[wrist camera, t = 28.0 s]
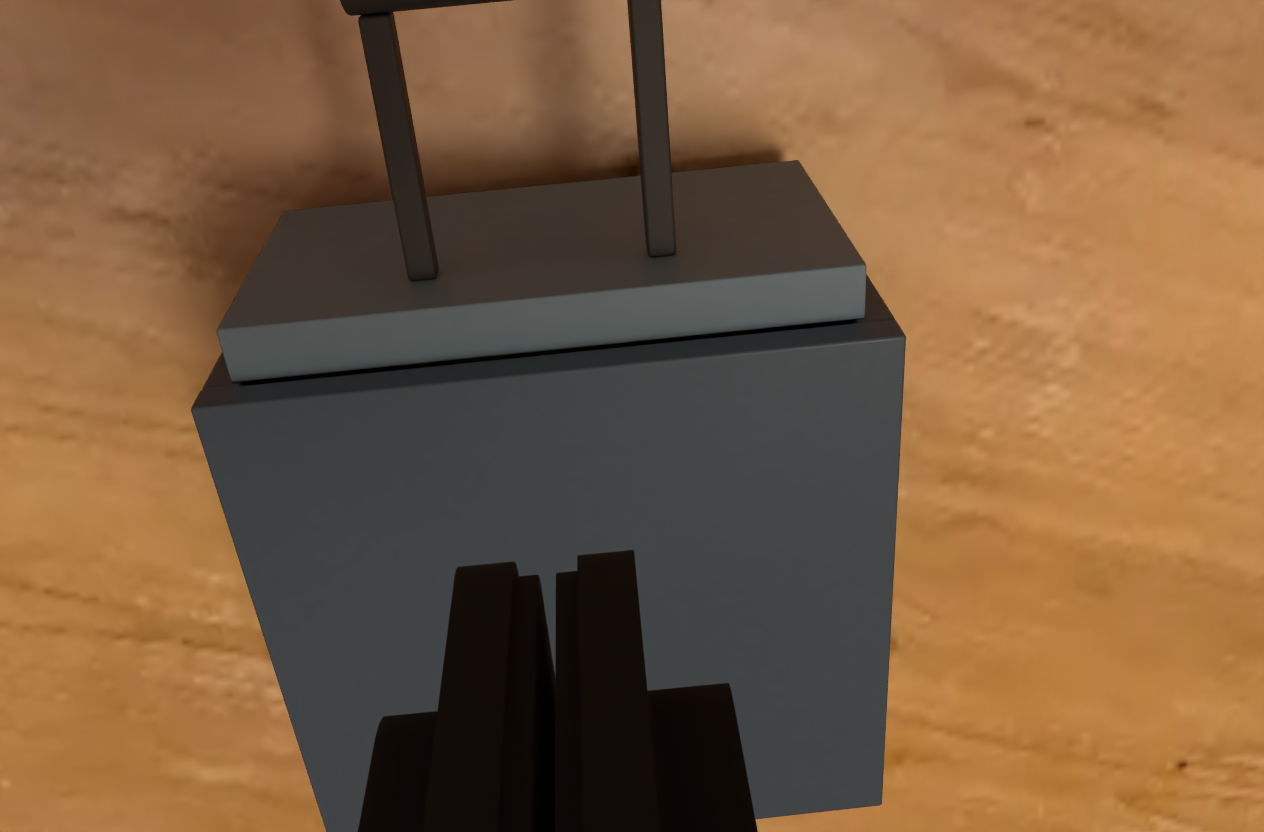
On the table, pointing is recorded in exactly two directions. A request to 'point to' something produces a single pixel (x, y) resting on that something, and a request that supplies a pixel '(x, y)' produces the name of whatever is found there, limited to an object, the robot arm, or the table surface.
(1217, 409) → the table surface
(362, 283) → the drawer
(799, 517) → the cabinet
